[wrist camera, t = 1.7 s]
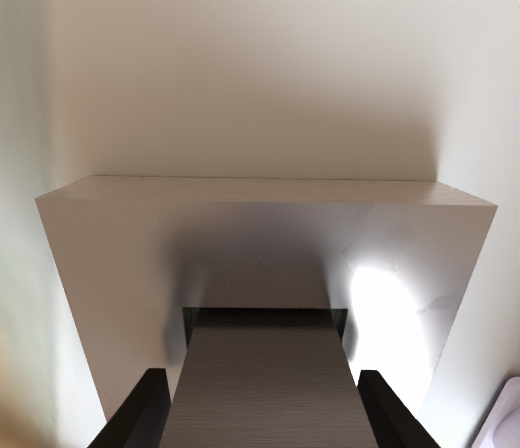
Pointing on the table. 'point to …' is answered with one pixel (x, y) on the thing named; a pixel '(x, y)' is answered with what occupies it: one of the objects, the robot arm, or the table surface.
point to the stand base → (262, 266)
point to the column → (266, 383)
